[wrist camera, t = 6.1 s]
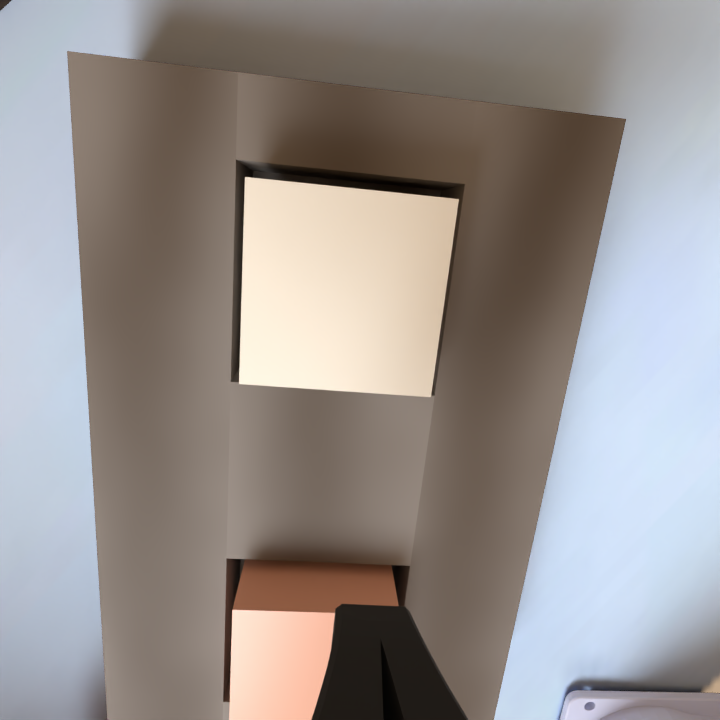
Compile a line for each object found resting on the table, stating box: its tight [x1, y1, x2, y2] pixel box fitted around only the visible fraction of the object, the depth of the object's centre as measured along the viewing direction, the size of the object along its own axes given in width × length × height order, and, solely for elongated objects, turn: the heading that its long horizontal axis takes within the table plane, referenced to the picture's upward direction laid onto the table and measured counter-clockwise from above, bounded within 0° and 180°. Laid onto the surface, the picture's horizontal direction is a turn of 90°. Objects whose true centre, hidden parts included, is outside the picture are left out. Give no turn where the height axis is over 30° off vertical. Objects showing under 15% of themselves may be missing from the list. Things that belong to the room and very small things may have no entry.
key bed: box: [67, 51, 626, 720], centre depth 17 cm, size 14×22×4 cm, turn 175°
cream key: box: [239, 177, 459, 397], centre depth 13 cm, size 5×5×3 cm
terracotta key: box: [229, 559, 399, 720], centre depth 17 cm, size 5×5×3 cm
